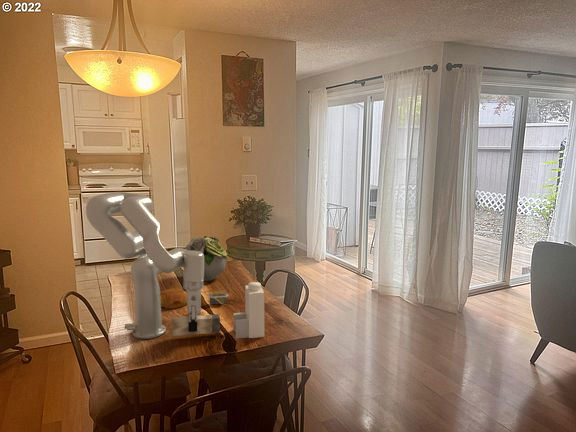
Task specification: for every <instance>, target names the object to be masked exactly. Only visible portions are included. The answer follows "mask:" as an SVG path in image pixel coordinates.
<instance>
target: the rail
mask: <svg viewBox="0 0 576 432" xmlns="http://www.w3.org/2000/svg"><path fill="white" fill-rule="evenodd" d="M191 317H192V316H191ZM215 333H221V316H220V314H219V313H218V314H203V315H201V314H200V315H197V331H196V332H189V315H188V316H186V315H185V316H173V317H171V337H175V336H177V337H178V336H188V335H189V336H190V335H201V334H202V335H203V334H215Z"/></svg>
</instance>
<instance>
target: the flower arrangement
mask: <svg viewBox="0 0 576 432" xmlns="http://www.w3.org/2000/svg"><path fill="white" fill-rule="evenodd" d="M184 249H186V250H190V251H199V252H202V253H203V254H204V281H205V282H208V281H214V280H215V279H216V278H217V276H218V275H220V274H222V272H223V271H225V269H226V266H227V260H228V253H227V251H226V250H225V248H223V246H222V245H221V244H220V242H219V238H216V237H213V236H205V235H204V236H197V237H194V238H191V239H190V241H189V243H188V244H187V245H186V246H185V248H184Z"/></svg>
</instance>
